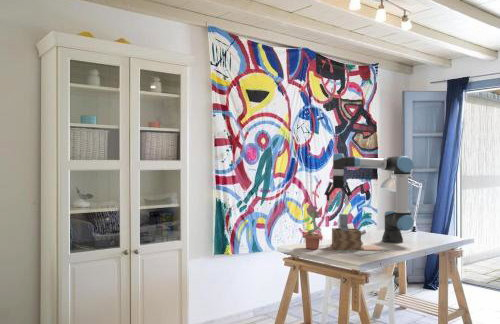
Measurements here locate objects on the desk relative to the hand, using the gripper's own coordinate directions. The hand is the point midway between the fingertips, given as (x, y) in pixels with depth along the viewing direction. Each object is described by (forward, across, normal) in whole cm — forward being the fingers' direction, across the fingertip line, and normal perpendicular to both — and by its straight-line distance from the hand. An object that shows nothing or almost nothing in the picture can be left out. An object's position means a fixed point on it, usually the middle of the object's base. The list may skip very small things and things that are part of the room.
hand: (338, 205), depth 310 cm
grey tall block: (+26, -1, +7) cm, 27 cm away
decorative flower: (+30, +20, +4) cm, 36 cm away
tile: (+29, -19, +13) cm, 37 cm away
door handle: (+30, -16, -8) cm, 35 cm away
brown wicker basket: (+29, -2, +8) cm, 30 cm away
